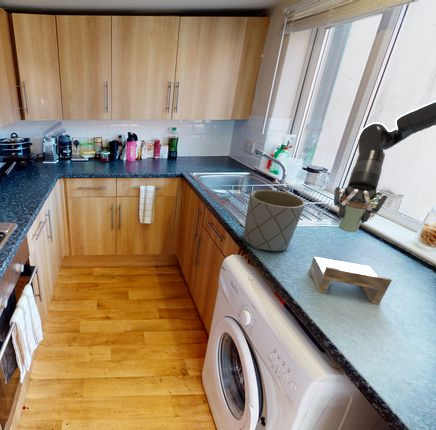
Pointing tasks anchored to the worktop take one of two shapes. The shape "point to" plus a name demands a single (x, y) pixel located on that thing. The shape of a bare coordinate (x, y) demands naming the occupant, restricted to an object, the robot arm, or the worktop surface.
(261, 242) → the planter
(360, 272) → the wooden riser stand
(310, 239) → the worktop surface
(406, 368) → the worktop surface
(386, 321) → the worktop surface
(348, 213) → the jar
